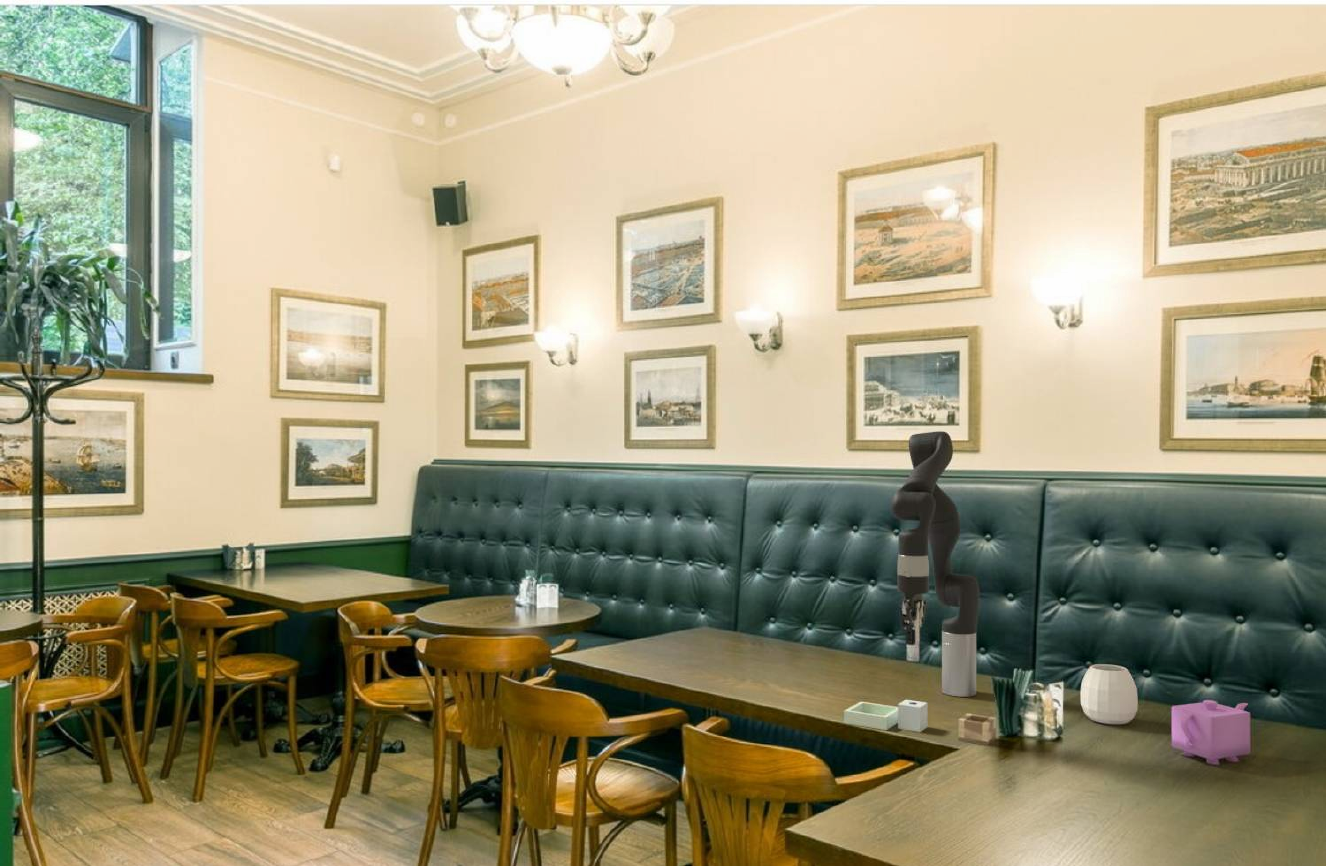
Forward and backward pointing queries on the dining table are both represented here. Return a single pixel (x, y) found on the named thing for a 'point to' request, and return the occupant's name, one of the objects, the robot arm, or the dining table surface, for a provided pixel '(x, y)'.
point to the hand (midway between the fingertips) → (913, 643)
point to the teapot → (1211, 730)
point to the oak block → (977, 729)
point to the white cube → (912, 715)
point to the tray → (871, 715)
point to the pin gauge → (914, 649)
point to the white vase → (1109, 694)
